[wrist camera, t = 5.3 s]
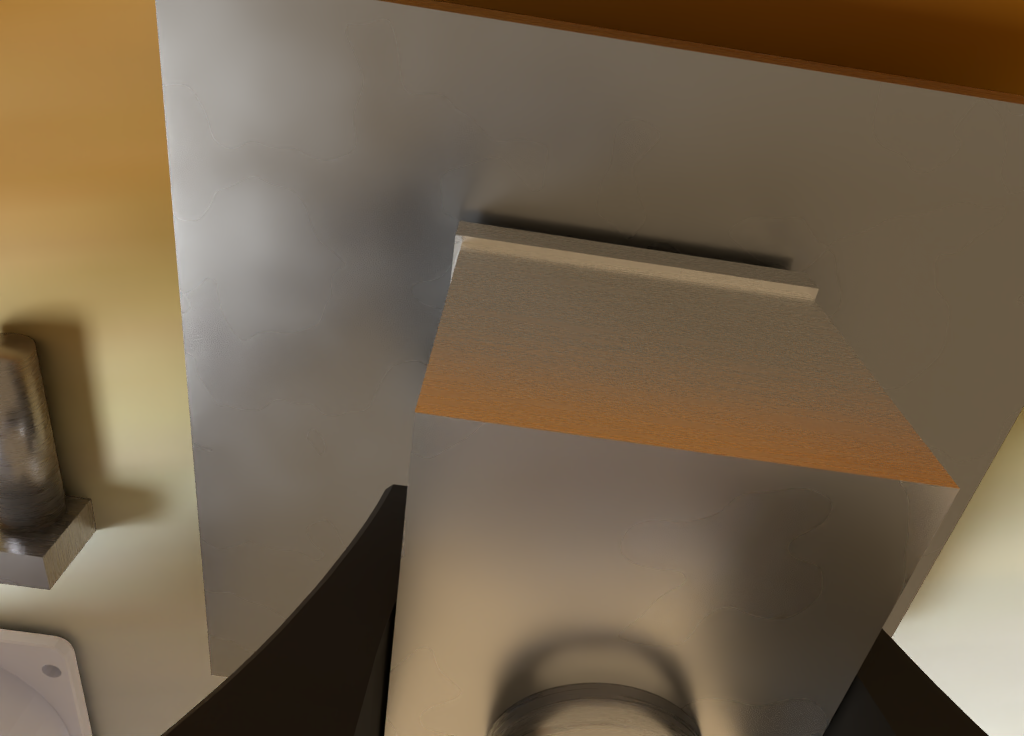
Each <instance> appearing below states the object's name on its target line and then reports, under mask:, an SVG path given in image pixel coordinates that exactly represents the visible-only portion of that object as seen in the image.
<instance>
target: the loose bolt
mask: <svg viewBox="0 0 1024 736" xmlns="http://www.w3.org/2000/svg"><path fill="white" fill-rule="evenodd" d="M95 531H96V525H95V519H94V513H93V507H92V501H91V499H86V498H79V497H72V496H65V494H64V489H63V484H62V479H61V474H60V469H59V464H58V458H57V453H56V448H55V443H54V438H53V433H52V428H51V422H50V417H49V412H48V407H47V402H46V397H45V392H44V387H43V381H42V376H41V371H40V366H39V361H38V356H37V351H36V345H35V342H34V341H33V340H32V339H31V338H29V337H27V336H25V335H21V334H15V333H0V583H2V584H9V585H17V586H24V587H32V588H39V589H47V590H50V589H51V588H52V587H53V585H54V584H55V583H56V581H57V580H58V579H59V578H60V576H61V575H62V574H63V572H64V571H65V570H66V569H67V567H68V566H69V565H70V563H71V562H72V561H73V560H74V558H75V557H76V556H77V554H78V553H79V552H80V551H81V549H82V548H83V547H84V545H85V544H86V543H87V542H88V540H89V539H90V538H91V536H92V535H93V534H94V533H95Z"/></svg>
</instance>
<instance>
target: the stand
mask: <svg viewBox="0 0 1024 736" xmlns="http://www.w3.org/2000/svg"><path fill="white" fill-rule="evenodd" d="M155 2H156V14H157V26H158V38H159V50H160V62H161V74H162V86H163V98H164V110H165V122H166V134H167V146H168V158H169V170H170V182H171V194H172V206H173V218H174V230H175V242H176V254H177V266H178V278H179V290H180V302H181V314H182V326H183V338H184V350H185V362H186V375H187V387H188V399H189V411H190V423H191V435H192V447H193V459H194V471H195V483H196V495H197V507H198V519H199V531H200V543H201V555H202V567H203V579H204V591H205V603H206V615H207V627H208V639H209V651H210V663H211V675H219V676H227V677H229V676H230V675H231V674H232V673H233V672H235V671H236V670H237V669H238V668H239V667H240V666H241V665H242V664H243V663H244V662H245V661H246V660H247V659H248V658H249V657H250V656H251V655H252V654H253V653H254V652H255V651H256V650H257V649H258V648H259V647H260V646H261V645H262V644H263V643H264V642H265V641H266V640H267V639H268V638H269V637H270V636H271V635H272V634H273V633H274V632H275V631H276V630H277V629H278V628H279V627H280V626H281V625H282V624H283V623H284V621H285V620H286V619H287V618H288V617H289V616H290V615H291V614H292V613H293V611H294V610H295V609H296V608H297V607H298V606H299V605H300V604H301V603H302V601H303V600H304V599H305V598H306V597H307V596H308V595H309V594H310V593H311V591H312V590H313V589H314V588H315V587H316V586H317V585H318V583H319V582H320V581H321V580H322V579H323V577H324V576H325V575H326V573H327V572H328V571H329V570H330V568H331V567H332V566H333V565H334V563H335V562H336V561H337V560H338V558H339V557H340V556H341V555H342V553H343V552H344V551H345V550H346V548H347V547H348V546H349V544H350V543H351V542H352V540H353V539H354V537H355V536H356V535H357V533H358V532H359V531H360V529H361V528H362V526H363V525H364V523H365V522H366V521H367V519H368V518H369V516H370V515H371V513H372V511H373V510H374V508H375V507H376V505H377V503H378V502H379V500H380V498H381V496H382V494H383V493H384V491H385V489H386V488H388V487H390V486H391V485H393V484H396V485H404V486H408V477H409V467H410V456H411V445H412V435H413V424H414V413H415V409H416V405H417V402H418V398H419V395H420V391H421V387H422V384H423V380H424V377H425V373H426V370H427V366H428V362H429V359H430V355H431V352H432V348H433V344H434V341H435V337H436V334H437V330H438V326H439V323H440V319H441V316H442V312H443V308H444V305H445V301H446V298H447V294H448V291H449V287H450V281H451V272H452V262H453V253H454V244H455V235H456V232H457V228H458V225H459V222H460V221H464V222H471V223H478V224H484V225H491V226H498V227H504V228H511V229H518V230H524V231H531V232H537V233H544V234H551V235H557V236H564V237H571V238H577V239H584V240H591V241H597V242H604V243H611V244H617V245H624V246H631V247H637V248H644V249H651V250H657V251H664V252H670V253H677V254H684V255H690V256H697V257H704V258H710V259H717V260H724V261H730V262H737V263H744V264H750V265H757V266H764V267H770V268H777V269H784V270H790V271H797V272H804V273H807V275H808V276H809V277H810V278H811V280H812V281H813V282H814V283H815V285H816V286H817V287H818V288H819V290H818V293H817V296H816V298H815V302H816V303H817V304H818V306H819V307H820V308H821V309H822V311H823V312H824V313H825V315H826V316H827V317H828V319H829V320H830V321H831V322H832V324H833V325H834V326H835V328H836V329H837V330H838V331H839V333H840V334H841V335H842V337H843V338H844V339H845V341H846V342H847V343H848V344H849V346H850V347H851V348H852V350H853V351H854V352H855V354H856V355H857V356H858V357H859V359H860V360H861V361H862V363H863V364H864V365H865V366H866V368H867V369H868V370H869V372H870V373H871V374H872V376H873V377H874V378H875V379H876V381H877V382H878V383H879V385H880V386H881V387H882V388H883V390H884V391H885V392H886V394H887V395H888V396H889V398H890V399H891V400H892V401H893V403H894V404H895V405H896V407H897V408H898V409H899V411H900V412H901V413H902V414H903V416H904V417H905V418H906V420H907V421H908V422H909V423H910V425H911V426H912V427H913V429H914V430H915V431H916V433H917V434H918V435H919V436H920V438H921V439H922V440H923V442H924V443H925V444H926V445H927V447H928V448H929V449H930V451H931V452H932V453H933V455H934V456H935V457H936V458H937V460H938V461H939V462H940V464H941V465H942V466H943V468H944V469H945V470H946V471H947V473H948V474H949V475H950V477H951V478H952V479H953V480H954V482H955V483H956V484H957V486H958V487H959V488H960V490H959V491H958V493H957V495H956V497H955V498H954V500H953V502H952V504H951V506H950V507H949V509H948V511H947V513H946V515H945V516H944V518H943V520H942V522H941V524H940V525H939V527H938V529H937V531H936V533H935V534H934V536H933V538H932V540H931V542H930V543H929V545H928V547H927V549H926V550H925V552H924V554H923V556H922V558H921V559H920V561H919V563H918V565H917V567H916V568H915V570H914V572H913V574H912V576H911V577H910V579H909V581H908V583H907V585H906V586H905V588H904V590H903V592H902V594H901V595H900V597H899V599H898V601H897V603H896V604H895V606H894V608H893V610H892V611H891V613H890V615H889V617H888V619H887V620H886V622H885V624H884V626H883V628H882V629H883V630H884V631H885V632H886V633H887V634H888V635H889V636H890V637H892V636H893V634H894V632H895V630H896V629H897V627H898V625H899V623H900V622H901V620H902V618H903V616H904V615H905V613H906V611H907V609H908V608H909V606H910V604H911V602H912V601H913V599H914V597H915V595H916V594H917V592H918V590H919V588H920V587H921V585H922V583H923V581H924V580H925V578H926V576H927V574H928V573H929V571H930V569H931V567H932V566H933V564H934V562H935V560H936V559H937V557H938V555H939V553H940V552H941V550H942V548H943V546H944V545H945V543H946V541H947V539H948V538H949V536H950V534H951V533H952V531H953V529H954V527H955V526H956V524H957V522H958V520H959V519H960V517H961V515H962V513H963V512H964V510H965V508H966V506H967V505H968V503H969V501H970V499H971V498H972V496H973V494H974V492H975V491H976V489H977V487H978V485H979V484H980V482H981V480H982V478H983V477H984V475H985V473H986V471H987V470H988V468H989V466H990V464H991V463H992V461H993V459H994V457H995V456H996V454H997V452H998V450H999V449H1000V447H1001V445H1002V443H1003V442H1004V440H1005V438H1006V436H1007V435H1008V433H1009V431H1010V429H1011V428H1012V426H1013V424H1014V422H1015V421H1016V419H1017V417H1018V415H1019V414H1020V412H1021V410H1022V408H1023V407H1024V96H1022V95H1016V94H1010V93H1004V92H998V91H991V90H985V89H979V88H973V87H967V86H961V85H954V84H948V83H942V82H936V81H930V80H923V79H917V78H911V77H905V76H899V75H893V74H886V73H880V72H874V71H868V70H862V69H855V68H849V67H843V66H837V65H831V64H825V63H818V62H812V61H806V60H800V59H794V58H787V57H781V56H775V55H769V54H763V53H756V52H750V51H744V50H738V49H732V48H726V47H719V46H713V45H707V44H701V43H695V42H688V41H682V40H676V39H670V38H664V37H658V36H651V35H645V34H639V33H633V32H627V31H620V30H614V29H608V28H602V27H596V26H590V25H583V24H577V23H571V22H565V21H559V20H552V19H546V18H540V17H534V16H528V15H521V14H515V13H509V12H503V11H497V10H491V9H484V8H478V7H472V6H466V5H460V4H453V3H447V2H441V1H435V0H155Z"/></svg>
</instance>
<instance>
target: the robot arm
mask: <svg viewBox="0 0 1024 736" xmlns="http://www.w3.org/2000/svg"><path fill="white" fill-rule="evenodd" d="M407 488H408V486H404V485H396V484H393V485H391V486H390V487H388V488H386V489H385V491H384V493H383V494H382V496H381V498H380V500H379V502H378V503H377V505H376V507H375V508H374V510H373V511H372V513H371V515H370V516H369V518H368V519H367V521H366V522H365V523H364V525H363V526H362V528H361V529H360V531H359V532H358V533H357V535H356V536H355V537H354V539H353V540H352V542H351V543H350V544H349V546H348V547H347V548H346V550H345V551H344V552H343V553H342V555H341V556H340V557H339V558H338V560H337V561H336V562H335V563H334V565H333V566H332V567H331V568H330V570H329V571H328V572H327V573H326V575H325V576H324V577H323V579H322V580H321V581H320V582H319V583H318V585H317V586H316V587H315V588H314V589H313V590H312V591H311V593H310V594H309V595H308V596H307V597H306V598H305V599H304V600H303V601H302V603H301V604H300V605H299V606H298V607H297V608H296V609H295V610H294V611H293V613H292V614H291V615H290V616H289V617H288V618H287V619H286V620H285V621H284V623H283V624H282V625H281V626H280V627H279V628H278V629H277V630H276V631H275V632H274V633H273V634H272V635H271V636H270V637H269V638H268V639H267V640H266V641H265V642H264V643H263V644H262V645H261V646H260V647H259V648H258V649H257V650H256V651H255V652H254V653H253V654H252V655H251V656H250V657H249V658H248V659H247V660H246V661H245V662H244V663H243V664H242V665H241V666H240V667H239V668H238V669H237V670H236V671H235V672H233V673H232V674H231V675H230V676H229V677H228V678H227V679H226V680H225V681H224V682H223V683H222V684H221V685H219V686H218V687H217V688H216V689H215V690H214V691H213V692H211V693H210V694H209V695H208V696H207V697H206V698H205V699H203V700H202V701H201V702H200V703H199V704H198V705H196V706H195V707H194V708H193V709H192V710H191V711H190V712H188V713H187V714H186V715H185V716H184V717H183V718H181V719H180V720H179V721H178V722H177V723H176V724H174V725H173V726H172V727H171V728H169V729H168V730H167V731H166V732H165V733H163V734H162V735H161V736H384V733H385V722H386V712H387V701H388V690H389V680H390V669H391V658H392V648H393V637H394V626H395V616H396V605H397V594H398V584H399V573H400V562H401V552H402V541H403V531H404V520H405V509H406V499H407ZM0 736H93V735H92V731H91V726H90V721H89V717H88V712H87V707H86V703H85V698H84V693H83V689H82V684H81V679H80V675H79V670H78V665H77V661H76V656H75V651H74V649H73V647H72V645H71V644H70V643H69V642H68V641H67V640H65V639H63V638H61V637H58V636H53V635H45V634H37V633H29V632H22V631H14V630H6V629H0ZM822 736H988V735H987V734H986V733H985V732H984V731H983V730H982V729H981V728H980V727H979V726H978V725H977V724H976V723H975V722H974V721H973V720H972V719H970V718H969V717H968V716H967V715H966V714H965V713H964V712H963V711H962V710H961V709H960V708H959V707H958V706H957V705H956V704H955V703H954V702H953V701H952V700H951V699H950V698H949V697H948V696H947V695H946V694H945V693H944V692H943V691H942V690H941V689H940V688H939V687H938V686H937V685H936V684H935V683H934V682H933V681H932V680H931V679H930V678H929V677H928V676H927V675H926V674H925V673H924V672H923V671H922V670H921V669H920V668H919V667H918V666H917V665H916V664H915V663H914V662H913V661H912V659H911V658H910V657H909V656H908V655H907V654H906V653H905V652H904V651H903V650H902V649H901V648H900V647H899V646H898V645H897V644H896V643H895V641H894V640H893V639H892V638H891V637H890V636H889V635H888V634H887V633H886V632H885V631H884V630H883V629H881V631H880V633H879V635H878V637H877V638H876V640H875V642H874V644H873V646H872V647H871V649H870V651H869V653H868V655H867V656H866V658H865V660H864V662H863V663H862V665H861V667H860V669H859V671H858V672H857V674H856V676H855V678H854V680H853V681H852V683H851V685H850V687H849V689H848V690H847V692H846V694H845V696H844V698H843V699H842V701H841V703H840V705H839V707H838V708H837V710H836V712H835V714H834V715H833V717H832V719H831V721H830V723H829V724H828V726H827V728H826V730H825V732H824V733H823V735H822Z"/></svg>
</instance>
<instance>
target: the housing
mask: <svg viewBox="0 0 1024 736" xmlns="http://www.w3.org/2000/svg"><path fill="white" fill-rule="evenodd" d="M818 290H819V288H818V287H817V286H816V285H815V283H814V282H813V281H812V280H811V278H810V277H809V276H808V275H807V273H804V272H797V271H790V270H784V269H777V268H770V267H764V266H757V265H750V264H744V263H737V262H730V261H724V260H717V259H710V258H704V257H697V256H690V255H684V254H677V253H670V252H664V251H657V250H651V249H644V248H637V247H631V246H624V245H617V244H611V243H604V242H597V241H591V240H584V239H577V238H571V237H564V236H557V235H551V234H544V233H537V232H531V231H524V230H518V229H511V228H504V227H498V226H491V225H484V224H478V223H471V222H464V221H460V222H459V225H458V228H457V232H456V235H455V244H454V253H453V262H452V272H451V281H450V287H449V291H448V294H447V298H446V301H445V305H444V308H443V312H442V316H441V319H440V323H439V326H438V330H437V334H436V337H435V341H434V344H433V348H432V352H431V355H430V359H429V362H428V366H427V370H426V373H425V377H424V380H423V384H422V387H421V391H420V395H419V398H418V402H417V405H416V409H415V413H414V424H413V435H412V445H411V456H410V467H409V477H408V488H407V499H406V509H405V520H404V531H403V541H402V552H401V562H400V573H399V584H398V594H397V605H396V616H395V626H394V637H393V648H392V658H391V669H390V680H389V690H388V701H387V712H386V722H385V733H384V736H822V735H823V733H824V732H825V730H826V728H827V726H828V724H829V723H830V721H831V719H832V717H833V715H834V714H835V712H836V710H837V708H838V707H839V705H840V703H841V701H842V699H843V698H844V696H845V694H846V692H847V690H848V689H849V687H850V685H851V683H852V681H853V680H854V678H855V676H856V674H857V672H858V671H859V669H860V667H861V665H862V663H863V662H864V660H865V658H866V656H867V655H868V653H869V651H870V649H871V647H872V646H873V644H874V642H875V640H876V638H877V637H878V635H879V633H880V631H881V629H882V628H883V626H884V624H885V622H886V620H887V619H888V617H889V615H890V613H891V611H892V610H893V608H894V606H895V604H896V603H897V601H898V599H899V597H900V595H901V594H902V592H903V590H904V588H905V586H906V585H907V583H908V581H909V579H910V577H911V576H912V574H913V572H914V570H915V568H916V567H917V565H918V563H919V561H920V559H921V558H922V556H923V554H924V552H925V550H926V549H927V547H928V545H929V543H930V542H931V540H932V538H933V536H934V534H935V533H936V531H937V529H938V527H939V525H940V524H941V522H942V520H943V518H944V516H945V515H946V513H947V511H948V509H949V507H950V506H951V504H952V502H953V500H954V498H955V497H956V495H957V493H958V491H959V490H960V488H959V487H958V486H957V484H956V483H955V482H954V480H953V479H952V478H951V477H950V475H949V474H948V473H947V471H946V470H945V469H944V468H943V466H942V465H941V464H940V462H939V461H938V460H937V458H936V457H935V456H934V455H933V453H932V452H931V451H930V449H929V448H928V447H927V445H926V444H925V443H924V442H923V440H922V439H921V438H920V436H919V435H918V434H917V433H916V431H915V430H914V429H913V427H912V426H911V425H910V423H909V422H908V421H907V420H906V418H905V417H904V416H903V414H902V413H901V412H900V411H899V409H898V408H897V407H896V405H895V404H894V403H893V401H892V400H891V399H890V398H889V396H888V395H887V394H886V392H885V391H884V390H883V388H882V387H881V386H880V385H879V383H878V382H877V381H876V379H875V378H874V377H873V376H872V374H871V373H870V372H869V370H868V369H867V368H866V366H865V365H864V364H863V363H862V361H861V360H860V359H859V357H858V356H857V355H856V354H855V352H854V351H853V350H852V348H851V347H850V346H849V344H848V343H847V342H846V341H845V339H844V338H843V337H842V335H841V334H840V333H839V331H838V330H837V329H836V328H835V326H834V325H833V324H832V322H831V321H830V320H829V319H828V317H827V316H826V315H825V313H824V312H823V311H822V309H821V308H820V307H819V306H818V304H817V303H816V302H815V298H816V296H817V293H818Z"/></svg>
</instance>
